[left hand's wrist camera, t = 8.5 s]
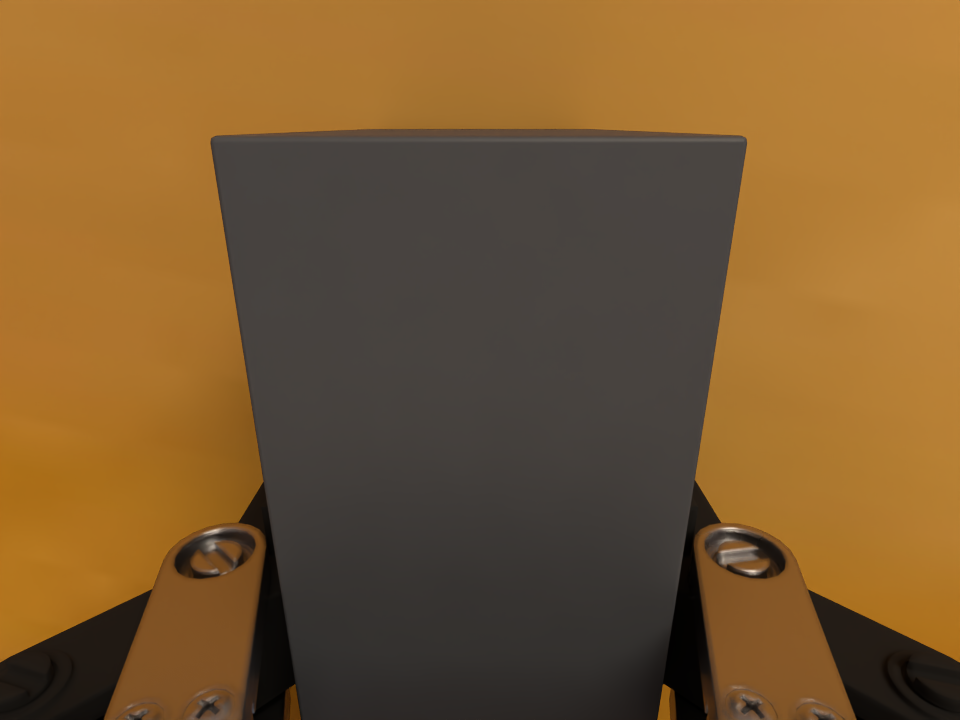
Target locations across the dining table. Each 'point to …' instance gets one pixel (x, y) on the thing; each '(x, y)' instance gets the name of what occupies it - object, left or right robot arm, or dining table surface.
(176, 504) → the dining table surface
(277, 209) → the beam
